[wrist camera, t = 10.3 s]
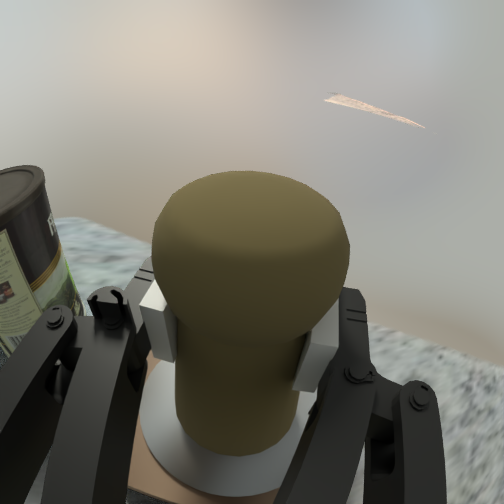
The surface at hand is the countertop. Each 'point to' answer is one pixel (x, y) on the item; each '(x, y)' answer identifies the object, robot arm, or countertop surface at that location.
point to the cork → (245, 300)
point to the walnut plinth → (201, 453)
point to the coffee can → (29, 257)
